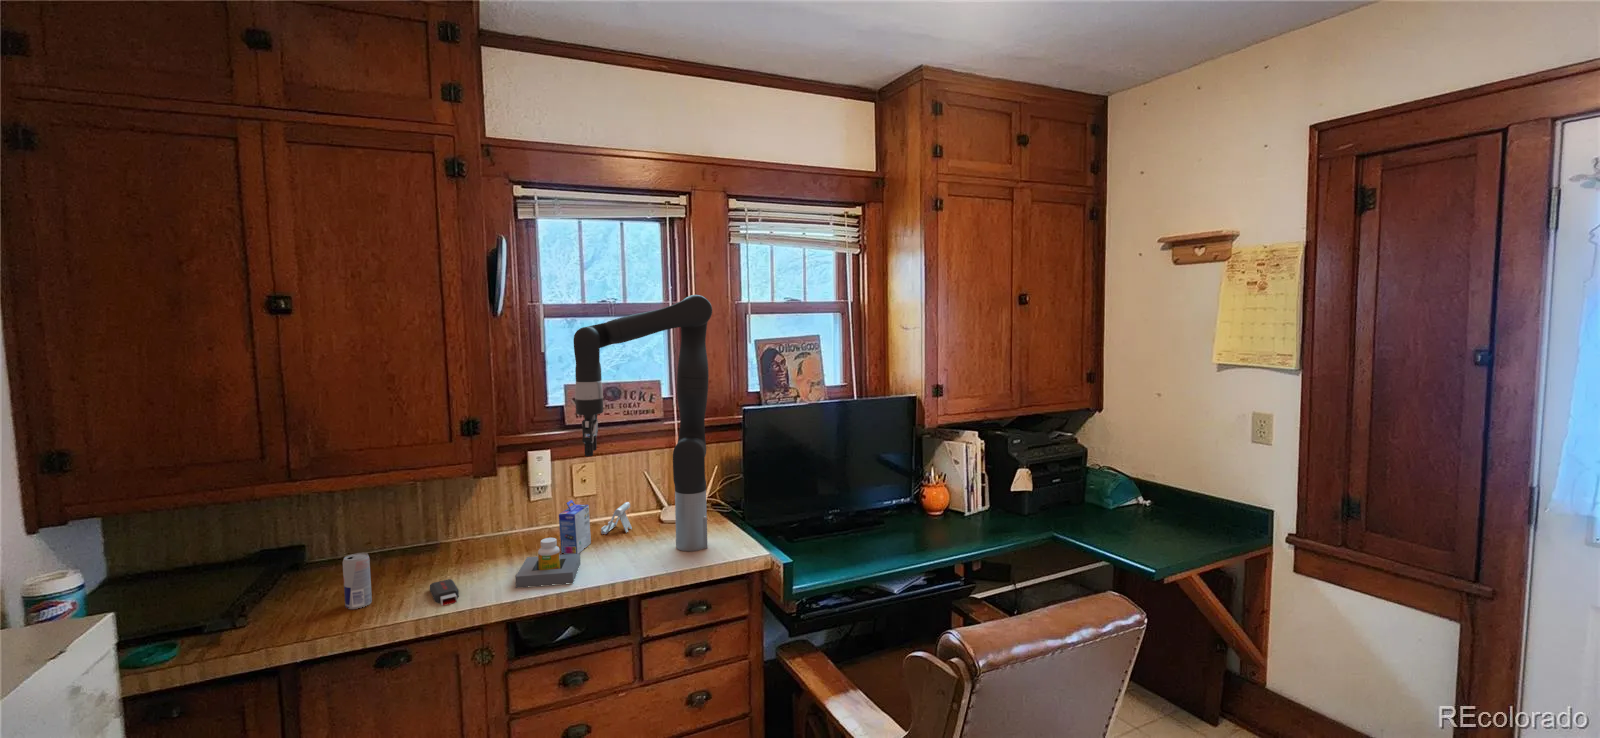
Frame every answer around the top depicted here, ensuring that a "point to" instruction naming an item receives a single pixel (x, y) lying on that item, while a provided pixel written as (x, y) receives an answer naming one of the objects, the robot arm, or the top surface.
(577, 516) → the ink cartridge box
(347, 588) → the energy drink
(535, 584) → the socket block
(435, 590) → the usb drive
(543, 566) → the supplement bottle
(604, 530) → the portable electronic device stand
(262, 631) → the top surface
